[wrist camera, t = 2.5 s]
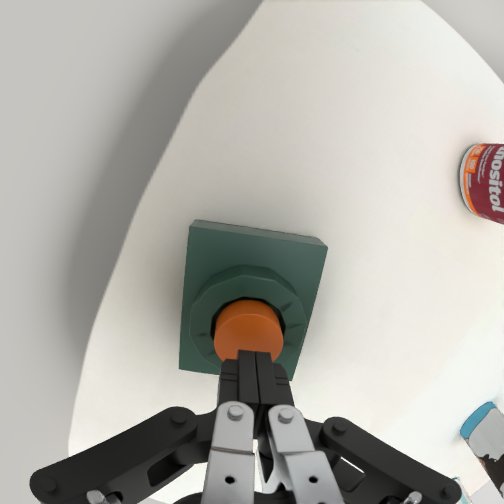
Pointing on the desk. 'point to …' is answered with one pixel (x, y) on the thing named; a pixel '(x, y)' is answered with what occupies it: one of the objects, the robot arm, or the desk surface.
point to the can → (463, 494)
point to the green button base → (246, 286)
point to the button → (247, 330)
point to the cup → (487, 441)
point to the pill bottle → (484, 181)
